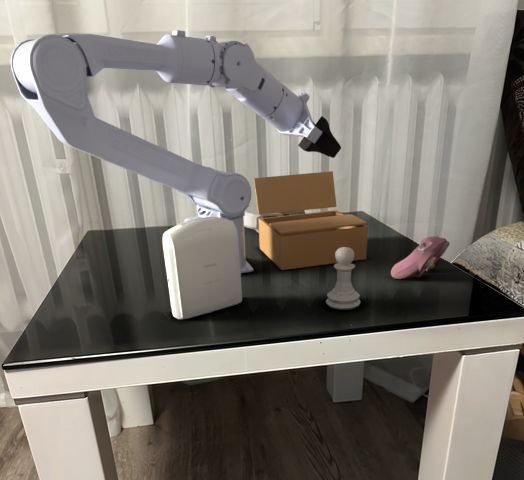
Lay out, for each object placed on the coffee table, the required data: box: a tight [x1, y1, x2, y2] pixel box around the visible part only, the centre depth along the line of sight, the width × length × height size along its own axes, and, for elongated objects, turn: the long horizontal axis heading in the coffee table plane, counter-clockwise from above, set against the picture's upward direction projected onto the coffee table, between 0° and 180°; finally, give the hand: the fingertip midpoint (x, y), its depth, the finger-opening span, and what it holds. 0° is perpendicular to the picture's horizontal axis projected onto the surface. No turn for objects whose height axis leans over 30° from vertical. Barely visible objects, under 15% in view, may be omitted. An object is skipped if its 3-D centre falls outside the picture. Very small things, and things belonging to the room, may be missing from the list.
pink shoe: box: [390, 234, 451, 280], centre depth 83 cm, size 10×5×7 cm, turn 143°
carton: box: [258, 209, 369, 271], centre depth 93 cm, size 15×13×6 cm
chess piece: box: [325, 247, 361, 311], centre depth 72 cm, size 5×5×8 cm
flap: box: [253, 170, 337, 215], centre depth 97 cm, size 15×6×1 cm
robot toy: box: [244, 204, 307, 234], centre depth 110 cm, size 12×4×15 cm
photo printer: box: [162, 217, 243, 320], centre depth 71 cm, size 10×4×12 cm, turn 123°
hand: (325, 143), depth 92 cm, fingers open, 7 cm apart
